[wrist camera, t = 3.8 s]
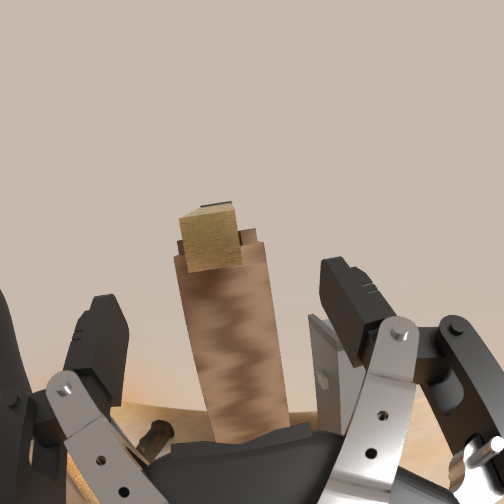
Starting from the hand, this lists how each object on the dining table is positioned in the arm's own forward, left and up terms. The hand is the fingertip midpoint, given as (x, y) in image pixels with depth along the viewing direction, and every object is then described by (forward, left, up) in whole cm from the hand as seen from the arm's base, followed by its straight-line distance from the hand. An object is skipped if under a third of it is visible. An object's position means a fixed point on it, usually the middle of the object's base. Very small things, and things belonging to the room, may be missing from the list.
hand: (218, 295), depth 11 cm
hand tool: (-18, +26, -32) cm, 44 cm away
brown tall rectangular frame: (0, +25, -31) cm, 40 cm away
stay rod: (0, +21, +1) cm, 21 cm away
